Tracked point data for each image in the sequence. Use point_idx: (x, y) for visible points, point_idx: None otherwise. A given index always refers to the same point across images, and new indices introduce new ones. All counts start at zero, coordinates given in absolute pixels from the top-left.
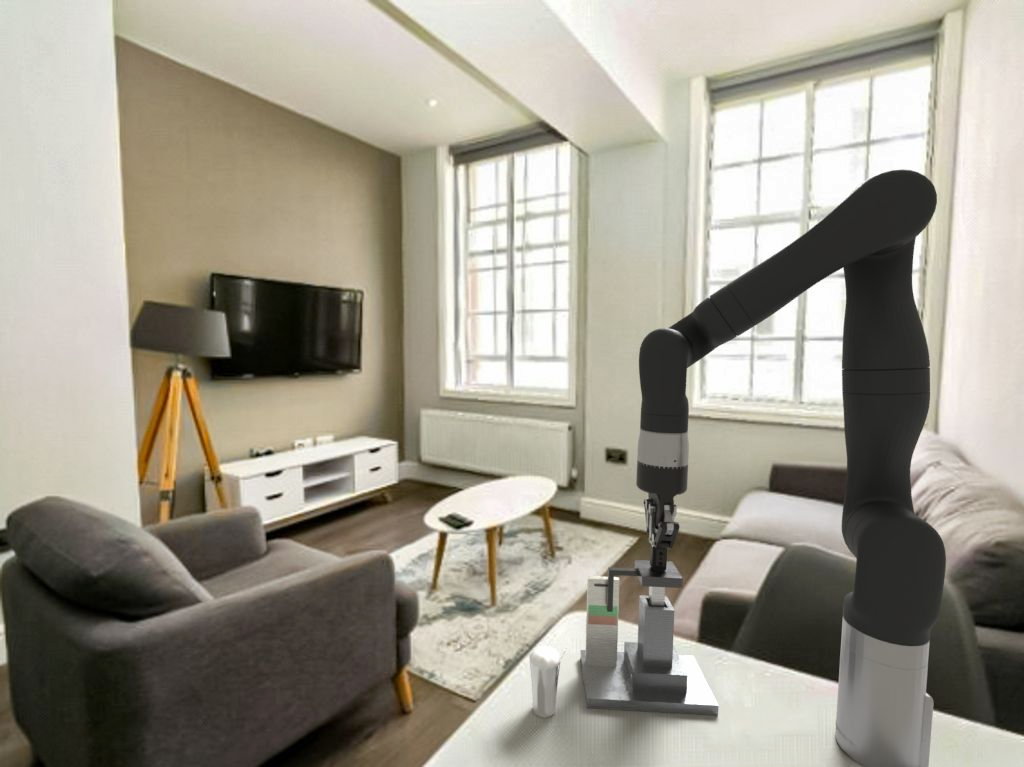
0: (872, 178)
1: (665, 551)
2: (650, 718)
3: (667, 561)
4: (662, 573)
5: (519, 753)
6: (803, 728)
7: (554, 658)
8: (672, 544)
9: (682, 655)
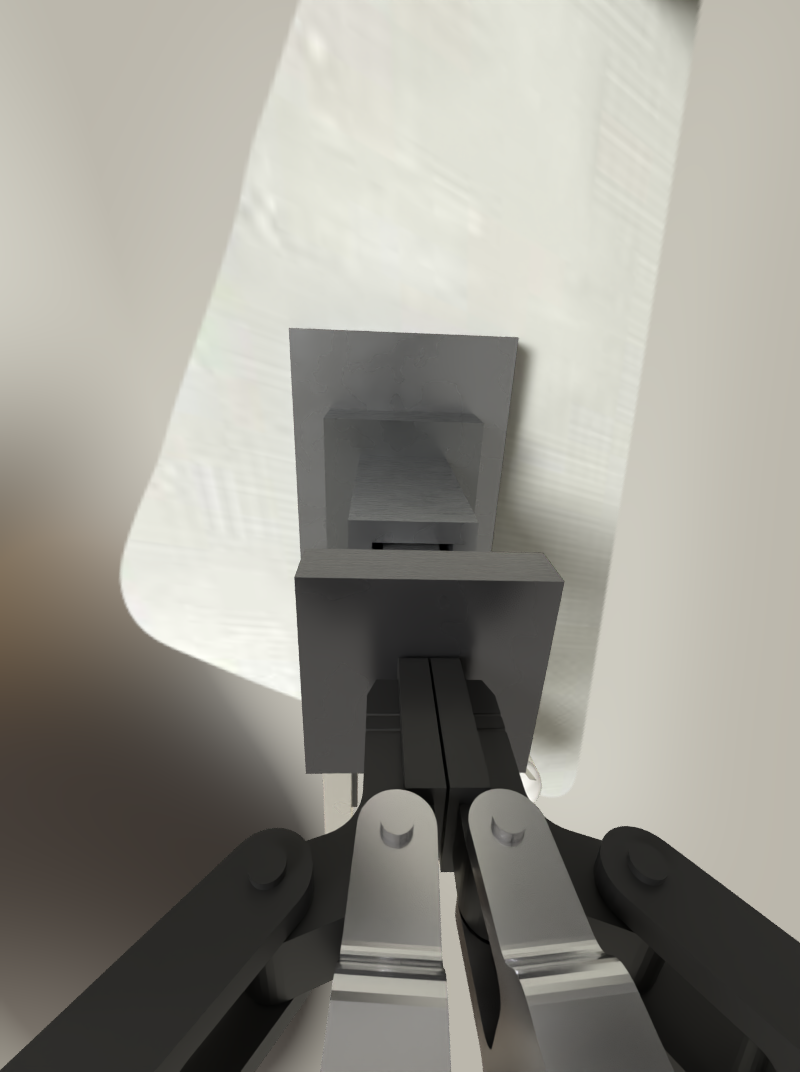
0: None
1: (522, 788)
2: (511, 507)
3: (298, 607)
4: (488, 674)
5: (574, 725)
6: (578, 74)
7: (528, 780)
8: (730, 899)
9: (293, 366)
